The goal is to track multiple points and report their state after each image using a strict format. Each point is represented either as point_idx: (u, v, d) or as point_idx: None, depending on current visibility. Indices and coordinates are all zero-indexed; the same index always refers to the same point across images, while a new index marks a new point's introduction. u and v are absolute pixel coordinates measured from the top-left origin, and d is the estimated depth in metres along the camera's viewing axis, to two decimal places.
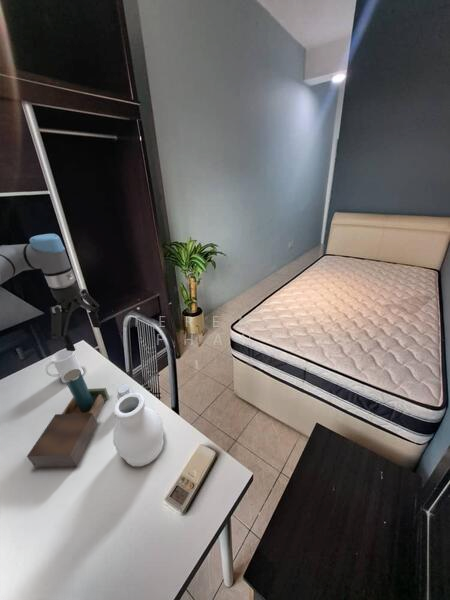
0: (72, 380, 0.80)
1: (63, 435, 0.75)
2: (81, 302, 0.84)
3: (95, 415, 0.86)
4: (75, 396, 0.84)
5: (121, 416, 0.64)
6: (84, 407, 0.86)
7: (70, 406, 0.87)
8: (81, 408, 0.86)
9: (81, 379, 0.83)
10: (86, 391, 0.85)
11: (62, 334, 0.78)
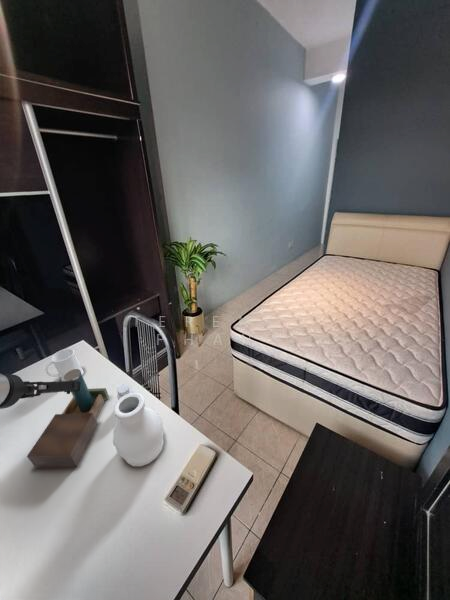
0: (72, 380, 0.80)
1: (63, 435, 0.75)
2: (30, 396, 0.61)
3: (95, 415, 0.86)
4: (75, 396, 0.84)
5: (121, 416, 0.64)
6: (84, 407, 0.86)
7: (70, 406, 0.87)
8: (81, 408, 0.86)
9: (81, 379, 0.83)
10: (86, 391, 0.85)
11: None
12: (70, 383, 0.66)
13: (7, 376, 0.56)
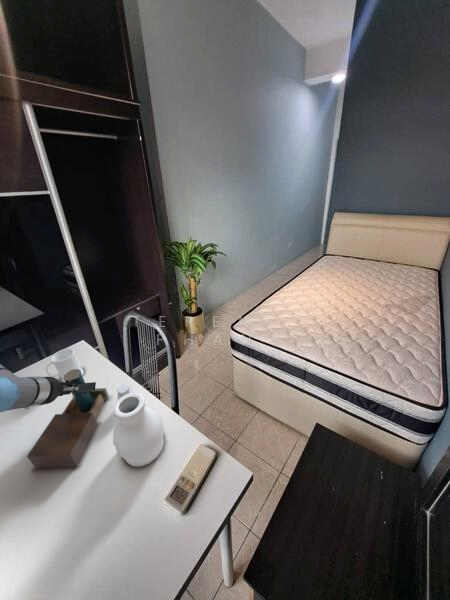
0: (72, 380, 0.80)
1: (63, 435, 0.75)
2: (63, 394, 0.75)
3: (95, 415, 0.86)
4: (75, 396, 0.84)
5: (121, 416, 0.64)
6: (84, 407, 0.86)
7: (70, 406, 0.87)
8: (81, 408, 0.86)
9: (81, 379, 0.83)
10: None
11: None
12: (89, 385, 0.81)
13: (48, 379, 0.69)
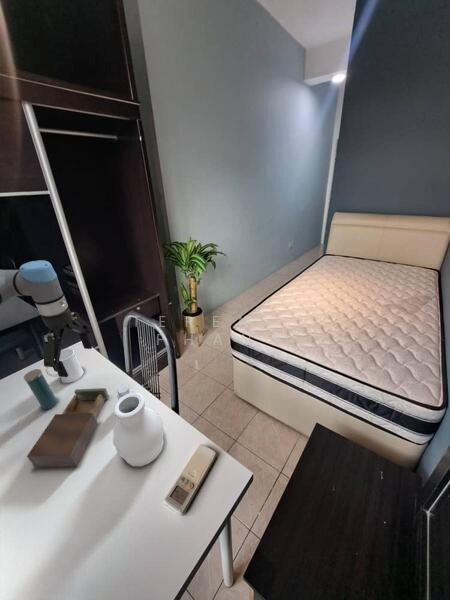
0: (31, 380, 0.84)
1: (63, 435, 0.75)
2: (73, 326, 0.82)
3: (95, 415, 0.86)
4: (36, 395, 0.88)
5: (121, 416, 0.64)
6: (46, 406, 0.90)
7: (70, 406, 0.87)
8: (43, 406, 0.90)
9: (41, 379, 0.87)
10: (47, 390, 0.89)
11: (55, 362, 0.76)
12: None
13: None
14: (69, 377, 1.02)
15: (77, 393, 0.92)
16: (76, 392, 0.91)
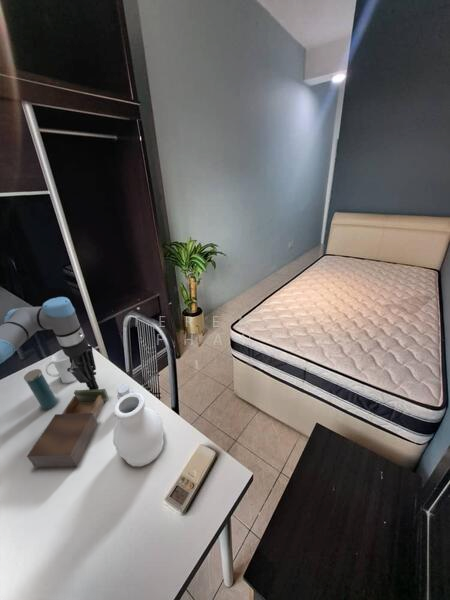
0: (31, 380, 0.84)
1: (63, 435, 0.75)
2: (87, 356, 0.88)
3: (94, 416, 0.85)
4: (36, 395, 0.88)
5: (121, 416, 0.64)
6: (46, 406, 0.90)
7: (70, 407, 0.86)
8: (43, 406, 0.90)
9: (41, 379, 0.87)
10: (47, 390, 0.89)
11: (88, 379, 0.89)
12: None
13: None
14: (69, 377, 1.02)
15: (77, 394, 0.91)
16: (75, 393, 0.91)
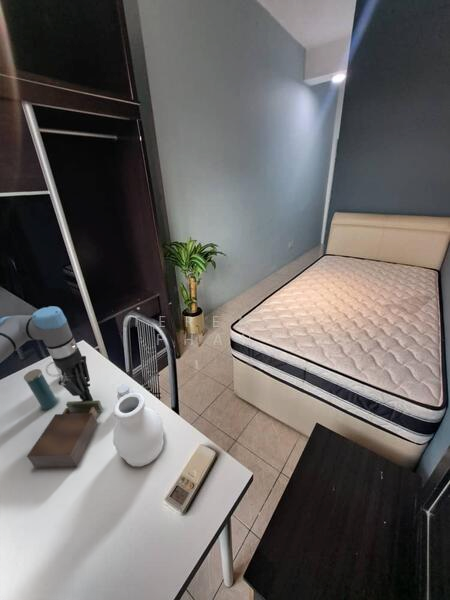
0: (31, 380, 0.84)
1: (63, 435, 0.75)
2: (80, 368, 0.84)
3: None
4: (36, 395, 0.88)
5: (121, 416, 0.64)
6: (46, 406, 0.90)
7: None
8: (43, 406, 0.90)
9: (41, 379, 0.87)
10: (47, 390, 0.89)
11: (82, 392, 0.85)
12: None
13: None
14: None
15: (69, 406, 0.87)
16: (68, 405, 0.87)
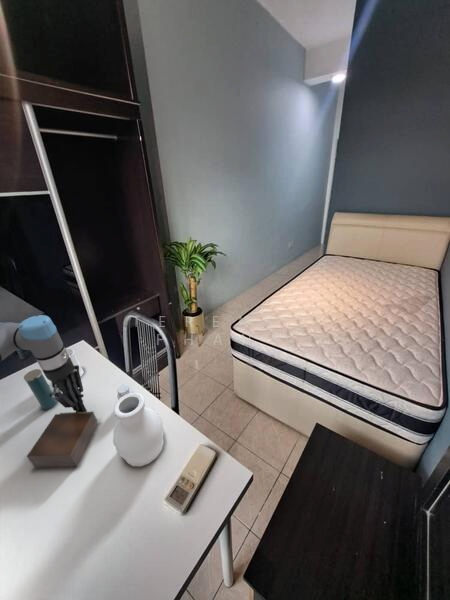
0: (31, 380, 0.84)
1: (63, 435, 0.75)
2: (73, 378, 0.80)
3: None
4: (36, 395, 0.88)
5: (121, 416, 0.64)
6: (46, 406, 0.90)
7: None
8: (43, 406, 0.90)
9: (41, 379, 0.87)
10: (47, 390, 0.89)
11: (75, 403, 0.81)
12: None
13: None
14: None
15: None
16: None
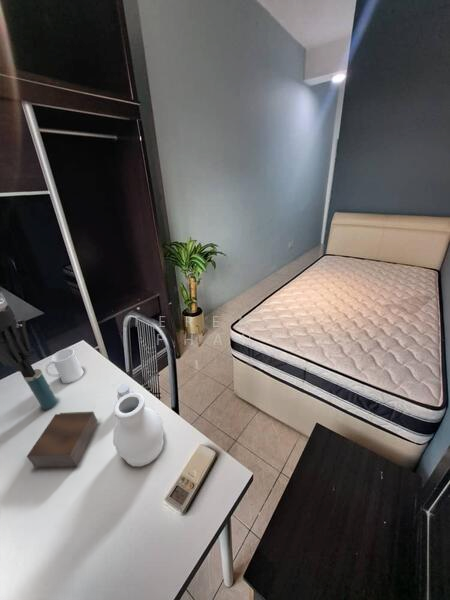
0: (31, 380, 0.84)
1: (63, 435, 0.75)
2: (15, 332, 0.70)
3: None
4: (36, 395, 0.88)
5: (121, 416, 0.64)
6: (46, 406, 0.90)
7: None
8: (43, 406, 0.90)
9: (41, 379, 0.87)
10: (47, 390, 0.89)
11: (18, 362, 0.71)
12: None
13: None
14: (69, 377, 1.02)
15: None
16: None
